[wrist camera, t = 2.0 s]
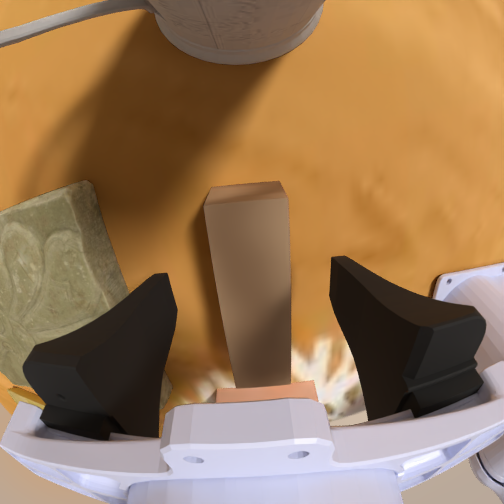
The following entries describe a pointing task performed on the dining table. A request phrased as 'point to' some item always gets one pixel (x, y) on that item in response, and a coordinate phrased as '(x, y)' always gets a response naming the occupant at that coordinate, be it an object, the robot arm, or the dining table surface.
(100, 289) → the decorative tile
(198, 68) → the dining table surface
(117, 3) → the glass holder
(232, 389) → the glazed tile
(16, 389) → the saucer
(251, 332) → the walnut stick
